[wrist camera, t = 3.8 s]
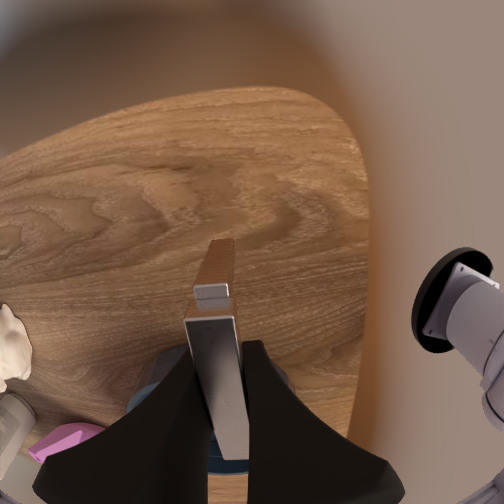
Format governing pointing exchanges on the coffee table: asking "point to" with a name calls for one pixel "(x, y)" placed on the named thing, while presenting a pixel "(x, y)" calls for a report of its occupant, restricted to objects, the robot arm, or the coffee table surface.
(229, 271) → the disc with bar handle
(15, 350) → the white lumpy figure
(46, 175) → the coffee table surface
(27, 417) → the energy drink can
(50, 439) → the teapot
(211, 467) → the bowl
